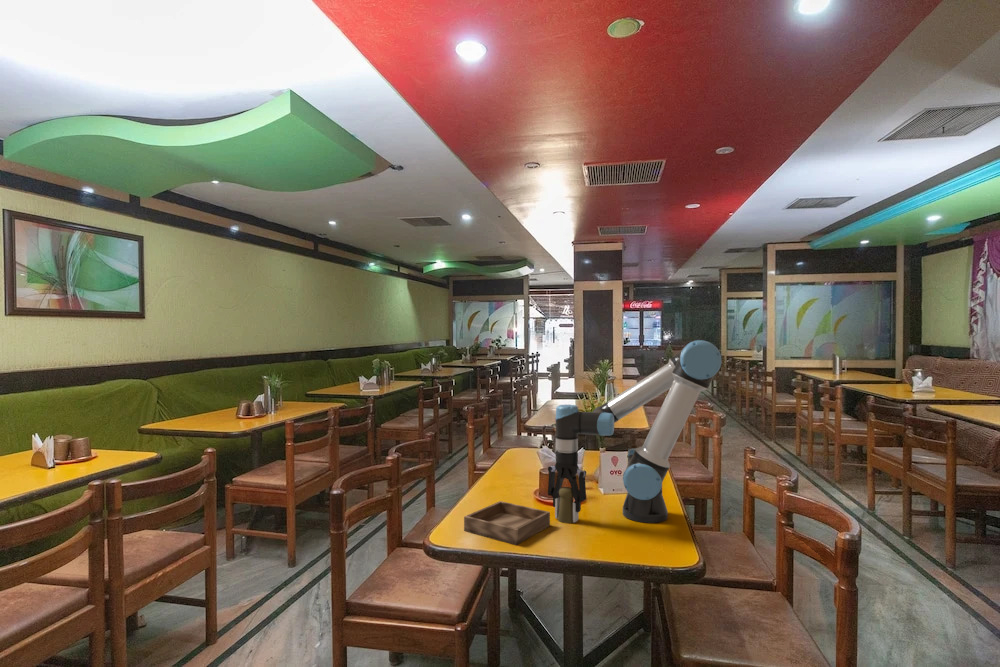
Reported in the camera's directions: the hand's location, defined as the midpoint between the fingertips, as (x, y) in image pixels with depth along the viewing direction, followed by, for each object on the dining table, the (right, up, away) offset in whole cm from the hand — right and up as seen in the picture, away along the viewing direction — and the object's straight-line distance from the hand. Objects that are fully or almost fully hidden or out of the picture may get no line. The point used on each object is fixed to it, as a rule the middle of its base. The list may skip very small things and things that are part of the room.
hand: (566, 518), depth 174 cm
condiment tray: (-20, 0, -8) cm, 22 cm away
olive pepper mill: (0, -1, 0) cm, 1 cm away
